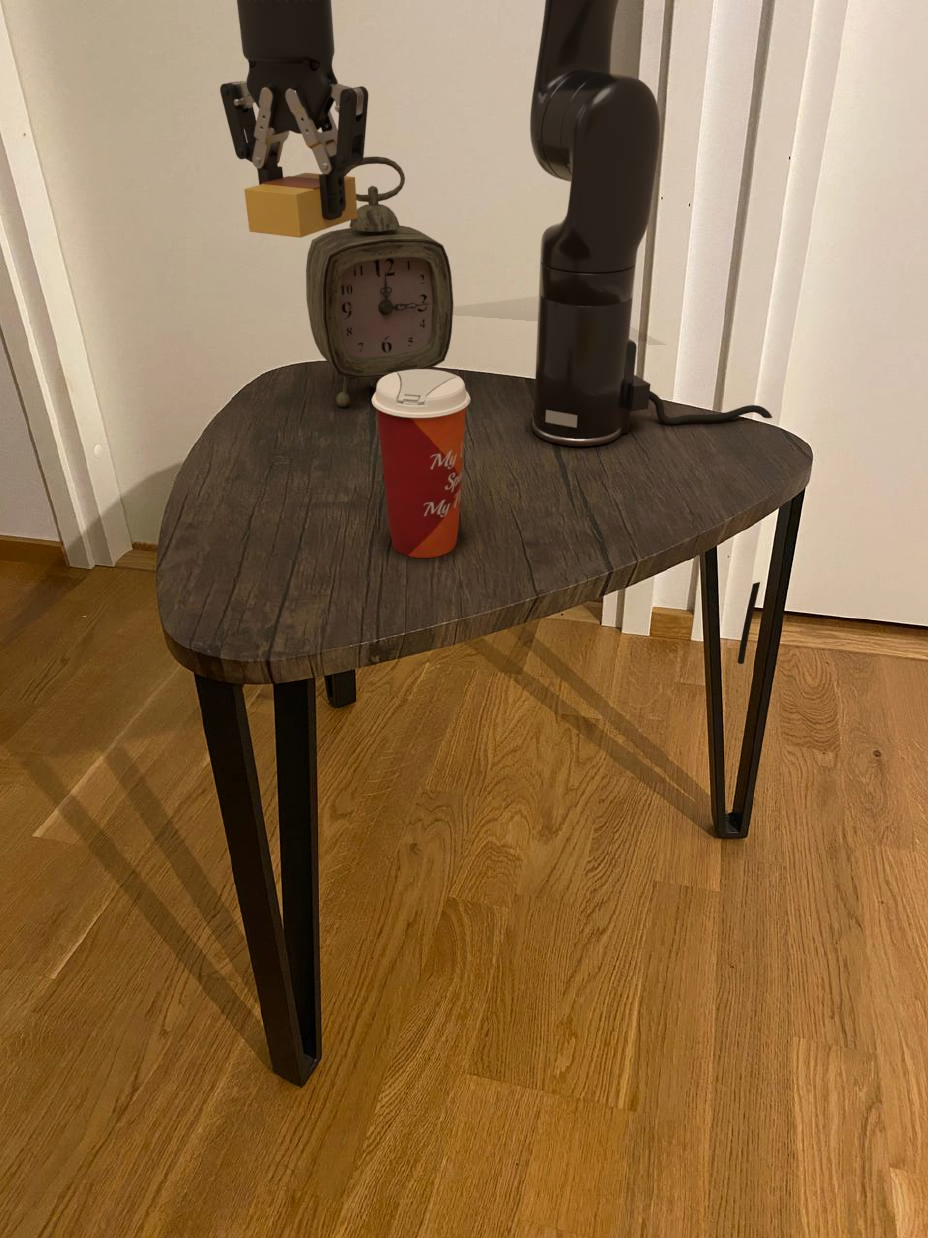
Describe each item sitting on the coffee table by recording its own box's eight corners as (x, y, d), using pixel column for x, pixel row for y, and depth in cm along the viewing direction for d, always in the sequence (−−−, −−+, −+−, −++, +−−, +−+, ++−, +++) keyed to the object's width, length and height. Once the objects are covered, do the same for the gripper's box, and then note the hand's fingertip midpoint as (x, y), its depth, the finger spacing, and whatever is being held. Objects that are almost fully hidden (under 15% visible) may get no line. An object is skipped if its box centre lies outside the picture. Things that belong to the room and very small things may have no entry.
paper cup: (459, 568, 80) (459, 404, 72) (368, 559, 81) (358, 396, 73) (477, 524, 86) (479, 369, 78) (393, 516, 87) (386, 362, 80)
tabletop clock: (330, 415, 107) (311, 167, 94) (310, 388, 115) (290, 153, 101) (454, 397, 112) (452, 158, 98) (427, 373, 119) (422, 146, 105)
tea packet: (308, 212, 93) (304, 171, 91) (358, 217, 91) (355, 176, 89) (248, 231, 86) (243, 187, 84) (301, 237, 84) (296, 193, 82)
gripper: (384, -9, 79) (394, 214, 88) (241, -10, 84) (265, 201, 94) (331, -8, 73) (348, 231, 82) (182, -8, 79) (213, 215, 88)
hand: (303, 214), depth 88 cm, fingers closed on tea packet, 5 cm apart
